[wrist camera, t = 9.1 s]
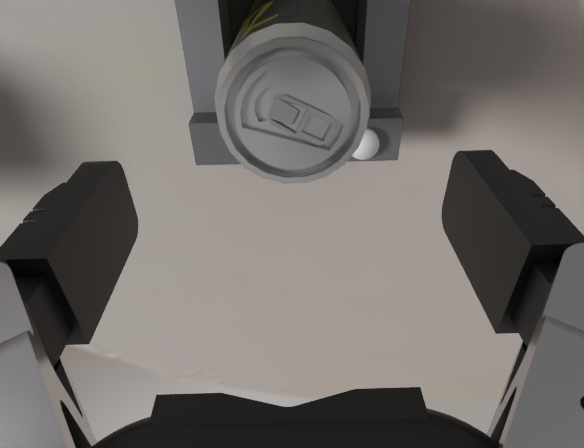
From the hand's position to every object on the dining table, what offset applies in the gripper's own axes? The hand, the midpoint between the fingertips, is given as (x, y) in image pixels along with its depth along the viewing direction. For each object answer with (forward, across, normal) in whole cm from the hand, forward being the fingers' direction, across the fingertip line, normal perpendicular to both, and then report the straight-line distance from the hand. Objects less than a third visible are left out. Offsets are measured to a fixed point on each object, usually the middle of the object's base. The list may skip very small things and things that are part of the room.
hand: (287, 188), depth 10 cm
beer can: (+16, 0, 0) cm, 16 cm away
